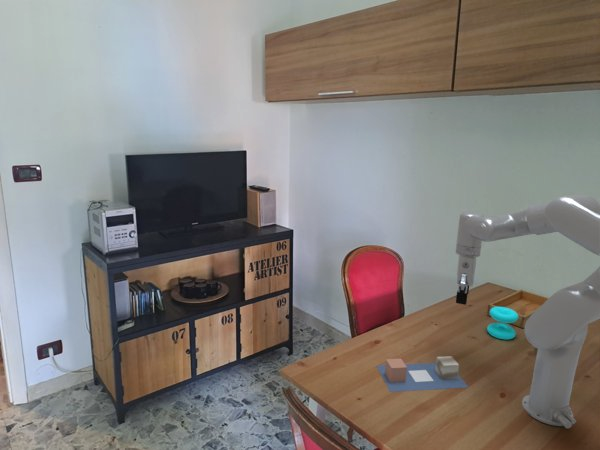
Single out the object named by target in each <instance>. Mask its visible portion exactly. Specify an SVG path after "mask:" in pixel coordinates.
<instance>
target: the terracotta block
mask: <svg viewBox="0 0 600 450" xmlns="http://www.w3.org/2000/svg"><path fill="white" fill-rule="evenodd" d="M405 364H406V363H405V362H404V360H403V359H402V358H387V359H385V365H386V367H385V374H386V376H387V378H388V380H389V381H390V383H392V382H406V373H407V366H406V365H405Z"/></svg>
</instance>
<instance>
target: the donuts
mask: <svg viewBox="0 0 600 450" xmlns="http://www.w3.org/2000/svg"><path fill="white" fill-rule="evenodd" d="M490 315H491V316H490V317H491V318H492V319H493V320H495V321H497V322H492V323H489V325H488V326H487V329H486V330H487V333H488V334H490V336H492V337H494V338H496V339H500V340H504V341H505V340H506V341H507V340H512V339H514V338H515V337H516V334H517V333H516V331H515V328H513V327H512V326H511V325H509V324H510V323H513V322H515V321H517V320H518V314H517V313H516V312H515V311H513V310H512V309H509V308H505V307H493V308H492V309H491V310H490Z"/></svg>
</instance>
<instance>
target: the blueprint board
mask: <svg viewBox="0 0 600 450" xmlns="http://www.w3.org/2000/svg"><path fill="white" fill-rule="evenodd" d="M405 365H406V366H407V373H406V382H392V383H390V381H389V380H388V378H387V376H386V374H385V367H386V364H383V365H380V364H379V365H376V368H377V370H378V372H379V374H380V376H381V377H382V379H383V381H384V383H385V384H386V386H387V388H388V390H389V392H391V393H396V392H399V393H400V392H413V391H431V390H449V389H465V388H469V386H468V384H467V383H466V382H465V380H463V379H462V377H461V376H460V375H459V374H458V376H457V379H446V380H442V379H441V378H440V376H439V375H438V374H437V372H436V371H435V368H436V362H425V363H424V362H423V363H405Z"/></svg>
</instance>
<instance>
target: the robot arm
mask: <svg viewBox="0 0 600 450" xmlns="http://www.w3.org/2000/svg"><path fill="white" fill-rule="evenodd" d="M553 233H559V234H560V235H562V236H564V237H565V238H567V239H569V240H570V241H572V242H574V243H575V244H577V245H579V246H580V247H583V249H586V250H587V251H588V252H590V253H592V254H594V255H597V256H599V257H600V202H599V201H598V200H597V198H595V197H593V196H591V195H587V194H573V195H572V194H571V195H563V196H558V197H556V198H554V199H552V200H549V201H546V202H545V201H544V202H540V203H537V204H532V205H530V206H528V208H527V209H524V210H522V211H517V212H511V213H508V214H502V215H501V214H499V215H493V216H485V214H483V213H480V212H477V211H464V212H461V214H460V215H459V220H458V230H457V235H456V236H457V237H456V247H455V254H456V255H458V263H457V271H456V272H457V273H456V283H457V285H458V288H457V291H456V298H455V304H458V305H464V306H466V305H467V301H468V300H467V299H468V295H469V292H470V288H471V287H473V285H474V281H475V273H476V265H477V258H479V257H480V256H481V251H482V243H483V242H484V243H485V242H487V243H489V242H495V241H499V240H507V239H508V240H509V239H512V238H517V237H522V236H529V235H530V236H531V235H536V236H540V235H542V236H543V235H547V234H553ZM548 298H549V299H548V300H547V301H546V302H545V303H544V304H542V305H541V306H540V307H539V308H538V309H537V310H536V311H535V312H534V313H533V314H532V315H531V316H530V317H529V318H528V320H527V322H526V324H525V327H524V335H525V337H526V340H527V342H529V344H530V345H531V346H533V347H534V348H538V352H537V353H536V356H535V357H536V358H535V363H534V368H533V375H532V379H531V380H532V381H531V385H530V390H529V394H528V395H524V397H523V398H522V401H521V405H522V407H523V409H524V410H525V411H526V412H527V414H528V415H529V416H530V417H532V418H533V419H536V420H537V421H539V422H541V423H544V424H546V425H550V426H555V427H563V428H565V429H567V430H568V429H570V428H571V427H572V426H573V425H574V424H576V423H577V420H576V419H575V418H574V413H573V412H572V408H571V406H570V400H571V394H572V390H573V385H574V381H575V380H574V379H575V376H576V371H577V367H578V363H579V358H580V355H581V351H582V347H583V346H584V343H585V341H586V338H587V335H588V330H589V329H588V328H589V326H588V325H589V324H591V323H593V322H595V321H598V320H600V265H599V266H598V267H597V268H596V269H595V271H593V272H592V273H591V274H590V275H588V276H587V277H586V278H585V279H584V280H582V281H580V282H577V283H575V284H572V285H569V286H566V287H563V288H561V289H559V290H557V291H556V292H554V293H553V294H552V295H551V296H550V297H548Z"/></svg>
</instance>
